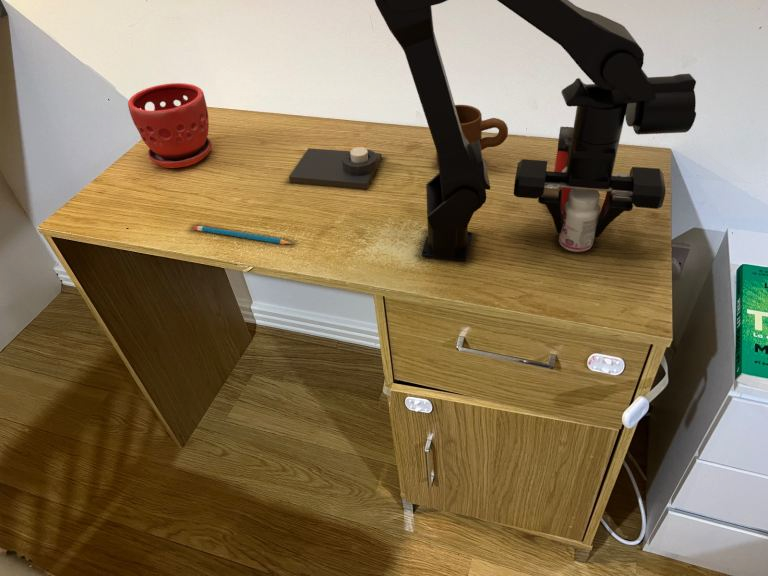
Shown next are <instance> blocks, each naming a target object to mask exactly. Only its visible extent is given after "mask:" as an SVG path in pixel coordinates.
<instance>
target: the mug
mask: <svg viewBox="0 0 768 576" xmlns="http://www.w3.org/2000/svg"><path fill="white" fill-rule="evenodd" d="M455 107H456V111H457V114H458V118H459V121H460V125H461V128H462V132H463V134H464V136H465V138H466V139H467V140H468V142H469V143H473V142H475V141H477V140H479V141H480V147H481V152H482V151H483V150H485V149H487V148H495V147H498V146H501V145H502V144H503V143H505V141H506V139H507V137H508V134H509V127H508V124H507V123H506V122H505V121H504V120H502V119H500V118H497V117H491V118H487V119H482V118H483V116H482V112H481V110H480V109H479V108H477V107H475V106H473V105H468V104H455ZM494 128H495V129H497V130H498V133H497V134H496V135H495V136H485V137H483V138H482V136H483V135H482V134H483V133H482V132H484V131H488V130H490V129H494ZM435 154H436V157H435V158H436V164H437V167H439V163H438V154H437V151H436V153H435Z"/></svg>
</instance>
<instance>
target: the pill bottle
mask: <svg viewBox="0 0 768 576" xmlns="http://www.w3.org/2000/svg"><path fill="white" fill-rule="evenodd" d="M600 197H601V193H600V191H596V190H583V189H571V190H570V193H569V197H568V201H567V202H566V204H565V206H564V211H563V214H562V226H561V232H560V234H559V237H558V242H559V244H560V246H561V247H562V248H564V249H565V250H567V251H570V252H575V253H576V252H577V253H579V252H586V251H588V250H590V249H591V248H592V246H593V245H594V241H595V238H596V237H595V232H596V227H597V223H598V218H599V215H600V212H601V207H600V205H599V203H600Z"/></svg>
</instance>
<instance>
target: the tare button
mask: <svg viewBox="0 0 768 576" xmlns="http://www.w3.org/2000/svg"><path fill="white" fill-rule="evenodd" d="M367 149H368V148H366V147H362V146H359V147H354V148H352V149H351V150H349V151H350V155H351V161H352V162H354V163H362V162H366V161H367V160H368V150H369V149H368V150H367Z"/></svg>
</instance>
